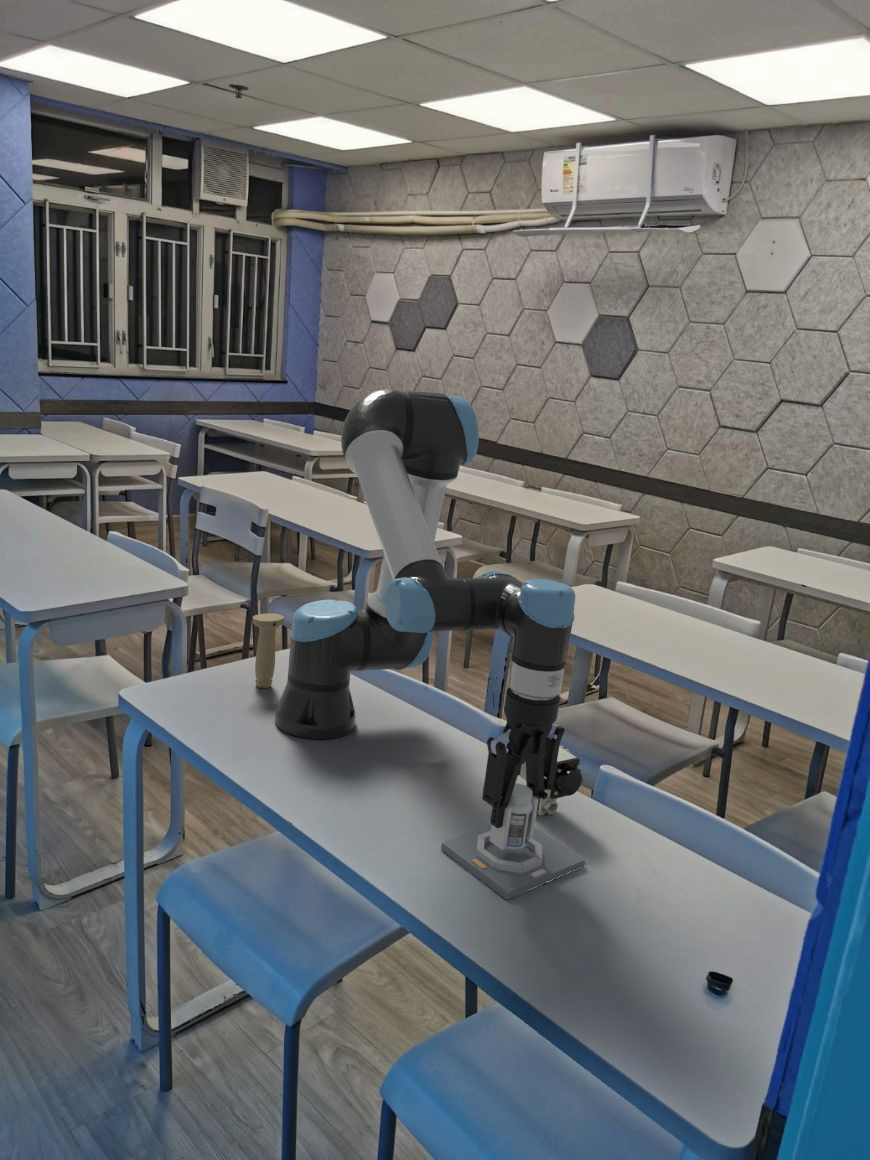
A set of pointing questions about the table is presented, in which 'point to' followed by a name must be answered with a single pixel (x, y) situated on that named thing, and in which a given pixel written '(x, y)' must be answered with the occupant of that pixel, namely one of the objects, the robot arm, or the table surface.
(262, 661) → the handle
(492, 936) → the table surface
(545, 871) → the slate board
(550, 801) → the pneumatic valve
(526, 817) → the pill bottle
